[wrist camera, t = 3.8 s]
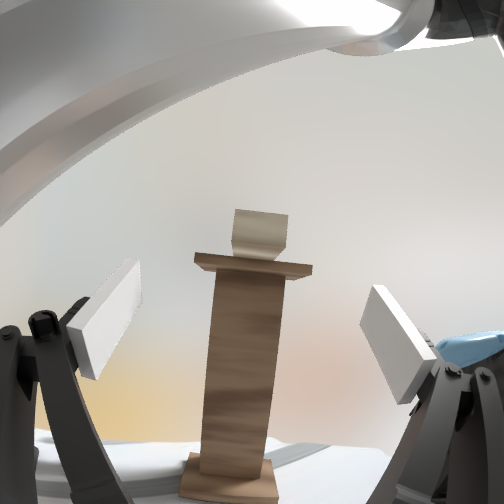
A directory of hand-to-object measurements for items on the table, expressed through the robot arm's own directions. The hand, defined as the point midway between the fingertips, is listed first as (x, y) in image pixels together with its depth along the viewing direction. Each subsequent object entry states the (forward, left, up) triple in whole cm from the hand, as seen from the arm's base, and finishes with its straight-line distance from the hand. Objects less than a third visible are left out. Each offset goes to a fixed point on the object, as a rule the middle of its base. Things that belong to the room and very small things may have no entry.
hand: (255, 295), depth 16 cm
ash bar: (+15, -4, +4) cm, 16 cm away
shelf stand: (+18, -5, -26) cm, 32 cm away
